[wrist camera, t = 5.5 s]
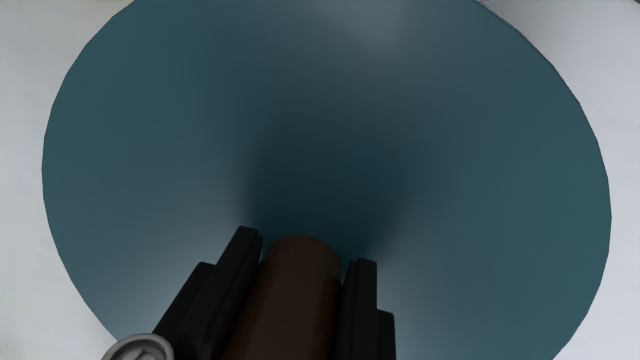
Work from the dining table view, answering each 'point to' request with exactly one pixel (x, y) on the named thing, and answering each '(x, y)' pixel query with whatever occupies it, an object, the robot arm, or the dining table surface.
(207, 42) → the tin lid
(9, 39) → the dining table surface
